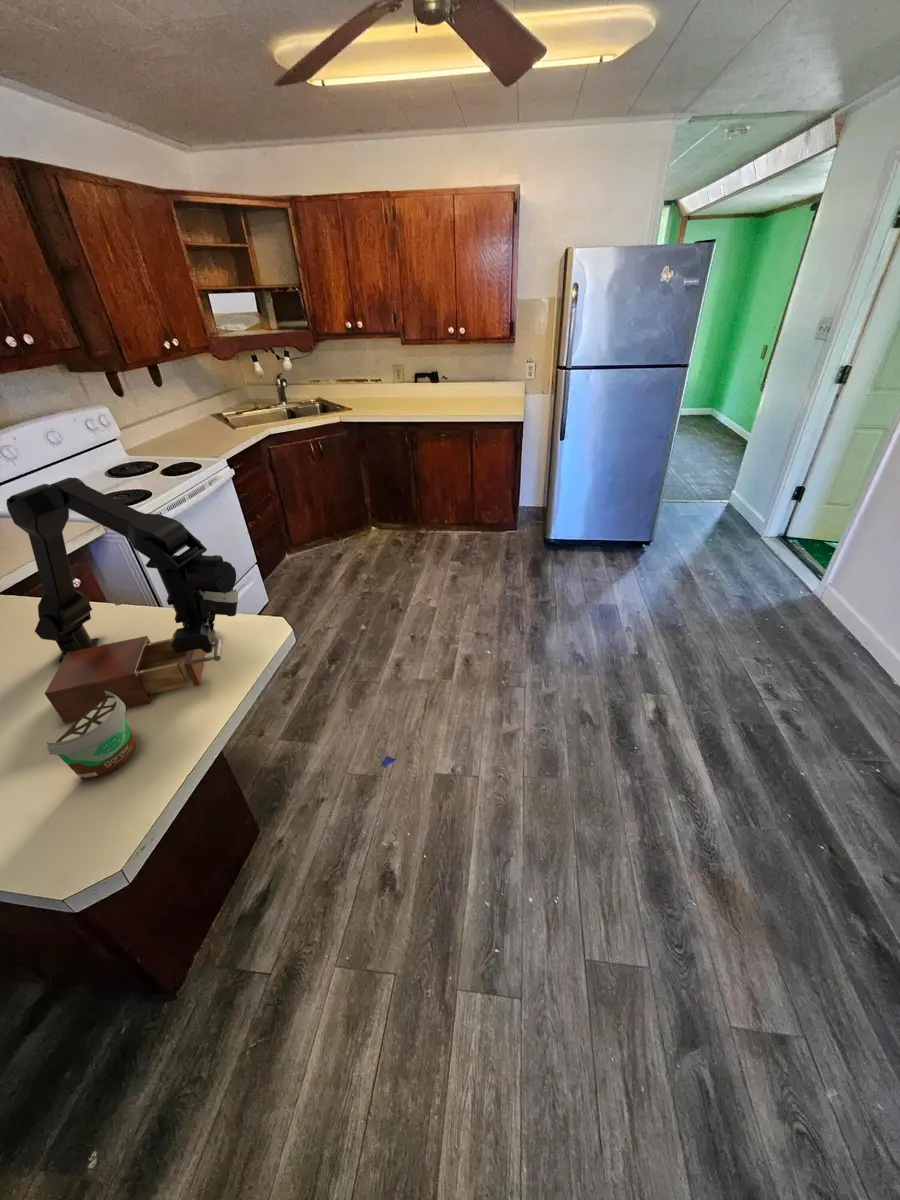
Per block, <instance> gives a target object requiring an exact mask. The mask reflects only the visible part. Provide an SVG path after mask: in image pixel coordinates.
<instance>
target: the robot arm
mask: <svg viewBox="0 0 900 1200" xmlns="http://www.w3.org/2000/svg"><path fill="white" fill-rule="evenodd" d="M6 508H7V511H8V513H9V515H10V517H11V520H12V522H13V524H14V525H16V526H17V527H19V528H20V529H21V530H22V531H24V532H25V533H27V535H28V538H29V541H30V542H29V543H30V545H31V546H30V547H31V549H32V553H33V557H34V560H35V565H36V568H37V571H38V575H39V580H40V582H41V587H42V590H43V594H42V596H41V598H40V601H39V602H38V604H37V612H38V614H37V615H38V622H37V625H36V627H35V629H34V632H35V634H36V635H38V637H39V638H40V639H41V640H46V641H54V642H55V643H56V645H57V646H58V648H59V649H60V651H61V654H60V655H59V657H58V663H62V661H63V659H64V657H65V655H66V654H67V652H71V651H76V650H81V649H86V648H91V647H95V646H98V644H99V643H100V638H99V637H95V638H91V636H90V634H89V633H88V631H87V629H86V628H85V626H84V624H85V623H86V622H88V621H90V620H92V616H91V611H93V608H92V606H91V603H90V600H91V599H90V597H88V596H86V595H84V594H83V593H81V592H79V591H78V590H76V589H75V584H74V580H73V579H74V578H73V575H72V571H71V566H70V561H69V557H68V554H67V553H68V552H67V548H66V544H65V543H66V542H65V538H64V534H63V531H64V529H65V527H66V525H67V523H68V521H69V518H70V510H71V511H73V512H74V513H77V514H78V515H81V516H83V517H85V518H87V519H89V520H91V521H93V522H95V523H97V524H99V525H101V526H103V527H106V528H107V529H109V530H112V531H114V532H115V533H118V534H119V535H122V536H123V537H125V538H126V539H127V540H128V541H129V542H130V544H131V547H132V548H133V549H134V550H135V551H136V552H138V553H140V554H142V555H143V556H145V557H146V558H148V559H149V560H148V561H147V562H146V563H145V567H146V568H148V569H156V570H157V573H158V574H159V577H160V579H161V582H162V584H163V586H164V588H165V591H166V593H167V599H166V602H167V605H168V606H172V607H173V609H174V612H175V616H174V622H175V624H181V623H182V622H183V624H182V627H180V628H177V629H176V630H175V631H174V633H173V634H172V638H171V639H172V641H171V646H172V648H173V650H174V652H175V653H181V652H186V651H191V650H195V649H201V650H203V651H204V652H205V654H209V653H213V646H212V640H211V639H212V635H211V633H212V632H213V629H214V628H215V620H216V616H217V615H220V616H226V617H235V616H236V615H237V609H238V601H239V592H238V591H237V589H234V587H235V585H236V582H237V572H236V568H235V566H233V565H232V563H231V562H230V561H226V560H224V559H223V556H222V555H218V554H217V555H216V554H215V555H204V553H206V552H207V551H208V548H207V547H206V546H205V545H204V544H203V543H201V542H202V541H201V540H199V539H198V538H197V537H195V536H194V535H193V534H192V533H191V532H190V530H188V528H186V527H185V525H183V523H181V522H180V521H178V520H177V519H174V518H172V517H169V516H165V515H163V514H159V513H158V514H157V513H144V512H142V511H138V510H136V509H135V508H132V507H131V506H128V505H127V504H124V503H122V502H121V501H118V500H116V499H114V498H112V497H110V496H109V495H106V494H104V493H102V492H100V491H98V490H97V489H94V488H92V487H90V486H88V485H86V484H85V482H84V481H83V480H81V479H80V478H78V477H67V478H64V479H61V480H58V481H55V482H53V483H51V484H48V483H42V484H39V485H37V486H34V487H31V488H28V489H26V490H24V491H21V492H17V493H14V494H13V495H10V496H9V497H8V498H6ZM185 548H187V549H186V550H185V551H183V552H181V553H179V552H180V551H181V550H183V549H185ZM177 553H179V554H178V555H177ZM214 630H215V629H214Z"/></svg>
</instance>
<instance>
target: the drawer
mask: <svg viewBox="0 0 900 1200" xmlns="http://www.w3.org/2000/svg"><path fill="white" fill-rule="evenodd" d="M171 641H172V638H168V639H162V640H158V641H153V642H151V643H148V644H147V646H146V649H145V652H144V655H143V658H142V661H141V664H140V667H139V670H138V673H137V675H138V677H139V679H140V681H141V682H142V684H143V686H144V688H145V690H146V692H147V694H152V693H153V694H156V693H160V692H164V691H168V690H172V689H173V690H174V689H177V688H181V687H185V686H187V685H188V680H189V679H190V681H191V684H192V686H193V687H194V688H196V687H200V686H201V683H202V677H203V672H204V671H203V670H204V664H205V662H211V661H215V662H219V661H221V660H222V655H223V654H222V653H223V644H224V641H223V640H222V638H218V639H217V640H216V642H212V647H214V649H213V655H211V656H207V657H206V652H204V651H203V650H201V649H195V650H191V651H186V652H181V653H175V652H174V650H173V648H172V646H171Z"/></svg>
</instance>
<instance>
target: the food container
mask: <svg viewBox="0 0 900 1200" xmlns="http://www.w3.org/2000/svg"><path fill="white" fill-rule="evenodd" d="M105 694H106V697H105V698H104V699H103V700H102V701H101V702H100V703H98V704H97V705H96V706H95V707H94V708H92V709H91V710H90V711H88V712H87V713H85V714H84V715H82V716H81V717H80V718H79V719H78V720H77V721H74V723H73V724H72V725H71V727H69V729H68V730H67V731H66V732H64V734H62V735H61V736H60V737H59V738H57V740H56V741H54V742H53V741H52V742H49V741H46V744H47V746H46V748H47V751H48V754H49V755H51V756H53V755H54V756H57V757H59V758H60V759H61V760H62V761H63V762H64V763H65V764H66V765H67V766H68V767H69V768H70V769H71V771H73V772H74V773H75V774H76V775H77V776H78V778H80V779H81V780H83V781H84V780H85V781H92V780H97V779H101V778H104V777H107V776H109V775H112V774H113V773H114V772H116V771H118V770H120V769H121V768H122V767H124V766H125V765H126V764H128V762H129V761H130V760H131V759H132V757H133V756H134V754H135V752H136V749H137V743H136V741H135V738H134V736H133V733H132V730H131V728H130V726H129V724H128V721H127V719H126V716H125V715H126V711H127V709H126V707H125V704H124V703H123V702H122V701H121V700H120V699H119V698H118V697H117V696H116V695H114V694H112V693H110V692H107V691H105Z"/></svg>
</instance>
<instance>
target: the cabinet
mask: <svg viewBox="0 0 900 1200" xmlns="http://www.w3.org/2000/svg"><path fill="white" fill-rule="evenodd" d="M148 643H152V642H151V640H150V638H149V636H148V635H144V636H140V637H135V638H129V639H125V640H120V641H116V642H110V643H106V644H101V645H97V646H95V647H91V648H86V649H81V650H76V651H71V652H67V654H66V655H65V657H64V659H63V661H62V662H60V665H59V666H58V668H57V670H56V671H55V674H54V675H53V677H52V679H51V680H50V683H49V684H48V686H47V689H46V690H45V691H44V695H45V696H46V698H47V700H48V701H49V702H50V704H51V706H52V707H53V708H54V710H55V712H56V713H57V714H58V716H59V717H60V719H61V720H62V722H63V723H64V724H68V723H73V722H76V721H77V720H78V719H79V718H80V717H81V716H82V715H84V714H85V713H87V712H88V711H90V710H91V709H92V708H94V707H95V706H96V705H97V704H98V703H100V702H101V701H102V700H103V699H104V698H105V697H106V694H105V691H107V692H110V693H112V694H114V695H116V696H117V697H118V698H119V699H120V700H121V701H122V702H123V703H124V704H125V707H126V710H128V709H132V708H135V707H139V706H144V705H148V704H151V702H152V698H153V695H154V693H152V694H147V692H146V690H145V688H144V686H143V684H142V682H141V681H140V679H139V677H138V675H137V673H138V670H139V667H140V664H141V661H142V658H143V655H144V652H145V649H146V646H147V644H148Z"/></svg>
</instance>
